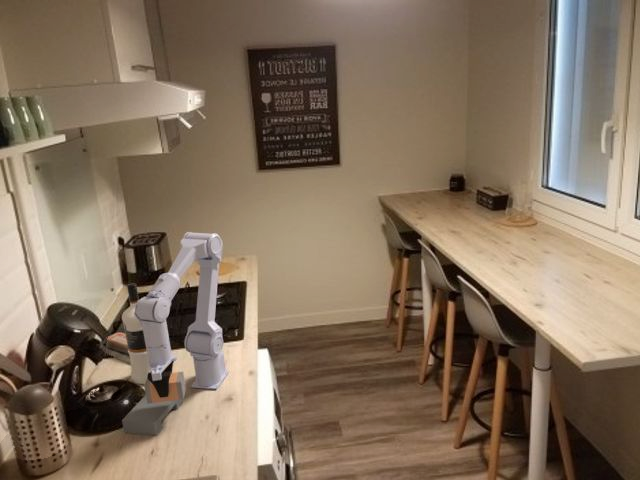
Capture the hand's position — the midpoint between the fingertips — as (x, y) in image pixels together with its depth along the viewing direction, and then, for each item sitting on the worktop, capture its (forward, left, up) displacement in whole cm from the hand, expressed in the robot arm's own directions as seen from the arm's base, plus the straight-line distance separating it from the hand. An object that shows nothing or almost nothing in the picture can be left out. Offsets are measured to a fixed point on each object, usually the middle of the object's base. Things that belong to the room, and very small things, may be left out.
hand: (165, 390), depth 134 cm
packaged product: (-32, -32, -9) cm, 47 cm away
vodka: (-18, -17, -9) cm, 26 cm away
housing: (0, 0, -2) cm, 2 cm away
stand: (0, -5, -8) cm, 10 cm away
